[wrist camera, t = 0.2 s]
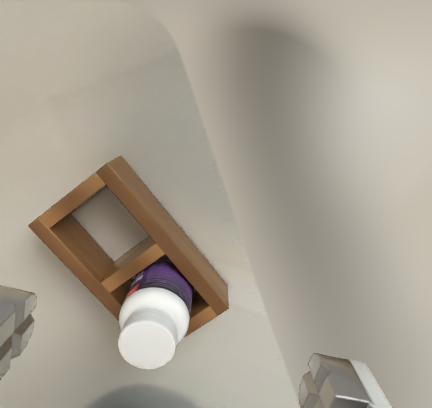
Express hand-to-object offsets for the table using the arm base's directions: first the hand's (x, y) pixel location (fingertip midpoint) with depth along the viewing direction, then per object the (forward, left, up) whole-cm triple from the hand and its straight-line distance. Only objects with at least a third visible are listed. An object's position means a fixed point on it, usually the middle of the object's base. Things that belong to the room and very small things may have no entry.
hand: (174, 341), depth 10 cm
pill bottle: (+10, -1, -21) cm, 23 cm away
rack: (+8, -4, -21) cm, 22 cm away
